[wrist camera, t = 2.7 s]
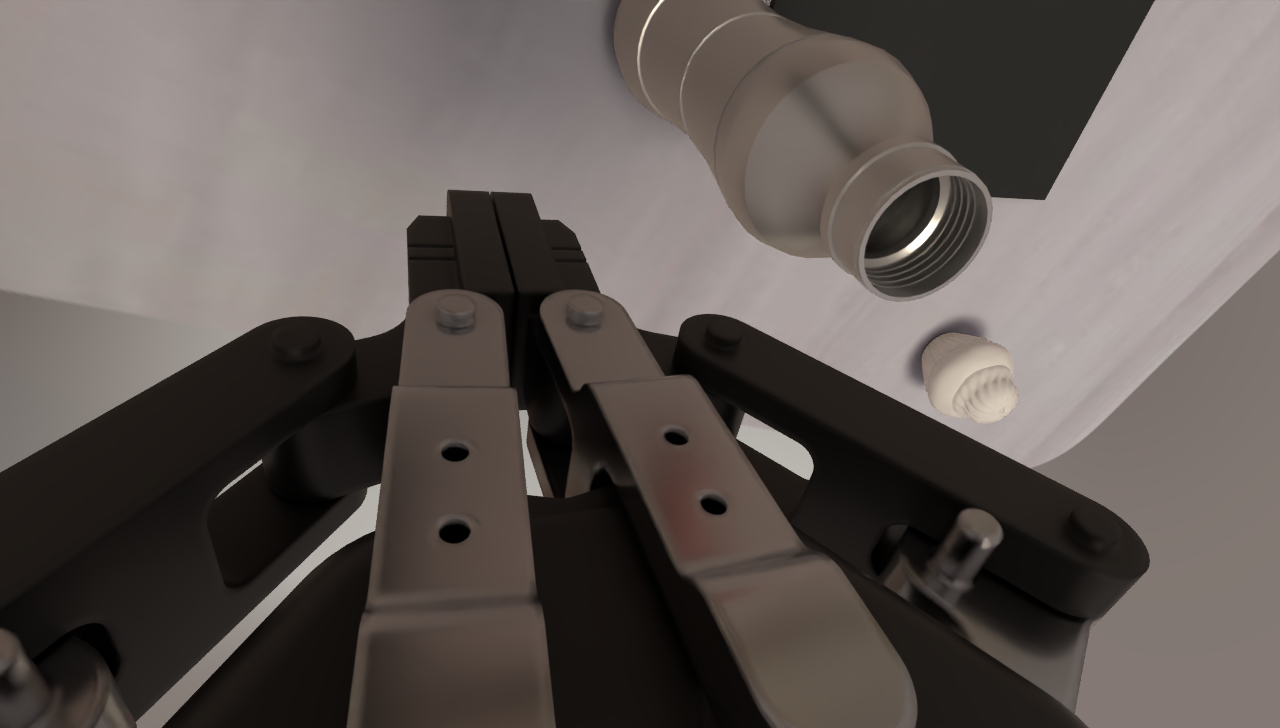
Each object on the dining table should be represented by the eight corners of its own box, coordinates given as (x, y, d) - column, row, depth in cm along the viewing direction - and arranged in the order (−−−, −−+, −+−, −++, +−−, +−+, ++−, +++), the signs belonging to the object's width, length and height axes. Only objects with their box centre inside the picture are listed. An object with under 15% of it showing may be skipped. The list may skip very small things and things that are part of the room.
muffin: (911, 325, 48) (974, 390, 43) (988, 306, 49) (1059, 367, 44) (896, 390, 52) (952, 457, 47) (968, 372, 53) (1031, 435, 48)
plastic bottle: (675, -94, 29) (985, 31, 14) (767, 26, 33) (1082, 222, 18) (571, 31, 31) (747, 259, 16) (670, 130, 35) (883, 384, 20)
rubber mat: (806, -139, 29) (811, -138, 29) (1178, -55, 36) (1184, -54, 36) (725, 179, 37) (728, 182, 37) (1040, 197, 44) (1044, 200, 44)
